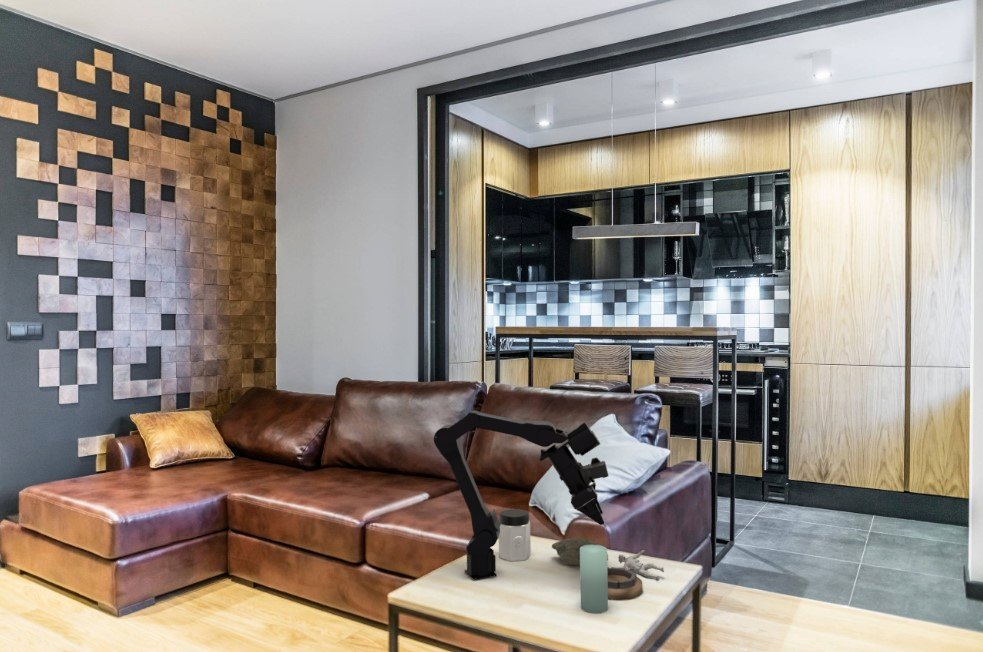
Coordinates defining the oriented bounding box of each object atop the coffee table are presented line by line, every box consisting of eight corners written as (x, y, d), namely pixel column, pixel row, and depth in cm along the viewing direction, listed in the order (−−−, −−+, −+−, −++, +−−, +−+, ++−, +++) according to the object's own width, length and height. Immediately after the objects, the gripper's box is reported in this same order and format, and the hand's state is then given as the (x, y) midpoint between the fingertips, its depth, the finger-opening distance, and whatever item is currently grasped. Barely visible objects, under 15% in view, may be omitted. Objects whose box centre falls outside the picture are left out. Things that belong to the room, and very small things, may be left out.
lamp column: (590, 615, 144) (588, 554, 144) (575, 605, 150) (574, 547, 150) (613, 610, 146) (612, 550, 147) (598, 600, 152) (597, 543, 152)
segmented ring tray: (606, 604, 150) (606, 588, 150) (576, 584, 162) (576, 570, 162) (653, 594, 155) (653, 579, 155) (621, 576, 167) (621, 562, 167)
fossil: (587, 585, 171) (612, 562, 176) (580, 553, 167) (606, 531, 173) (549, 562, 182) (573, 541, 187) (541, 532, 178) (567, 511, 184)
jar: (502, 562, 178) (501, 517, 179) (495, 553, 186) (495, 510, 187) (534, 559, 180) (533, 515, 180) (526, 550, 188) (526, 508, 188)
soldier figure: (651, 588, 162) (609, 563, 169) (653, 595, 165) (612, 571, 172) (666, 561, 165) (624, 538, 172) (668, 569, 168) (627, 546, 175)
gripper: (594, 455, 157) (632, 511, 156) (592, 442, 176) (626, 492, 174) (555, 480, 158) (592, 536, 157) (557, 465, 177) (590, 515, 175)
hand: (602, 518), depth 166 cm, fingers open, 9 cm apart
